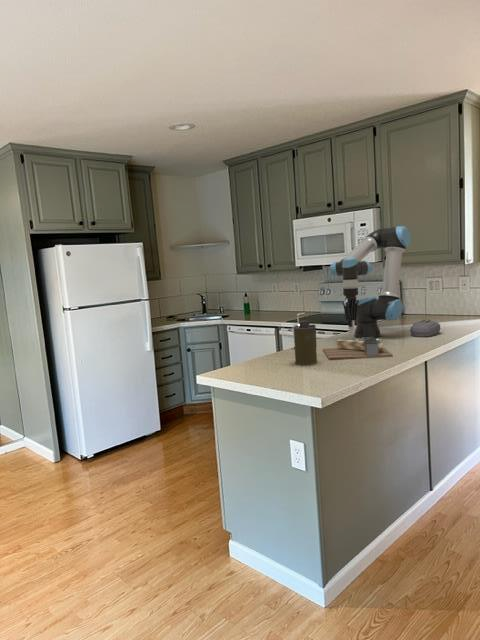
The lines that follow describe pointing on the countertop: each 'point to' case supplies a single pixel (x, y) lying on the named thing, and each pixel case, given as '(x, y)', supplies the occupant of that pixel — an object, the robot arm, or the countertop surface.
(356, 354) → the base plate
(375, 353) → the block
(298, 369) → the countertop surface
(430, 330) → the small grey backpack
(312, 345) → the canister
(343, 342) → the link
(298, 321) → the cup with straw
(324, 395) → the countertop surface
